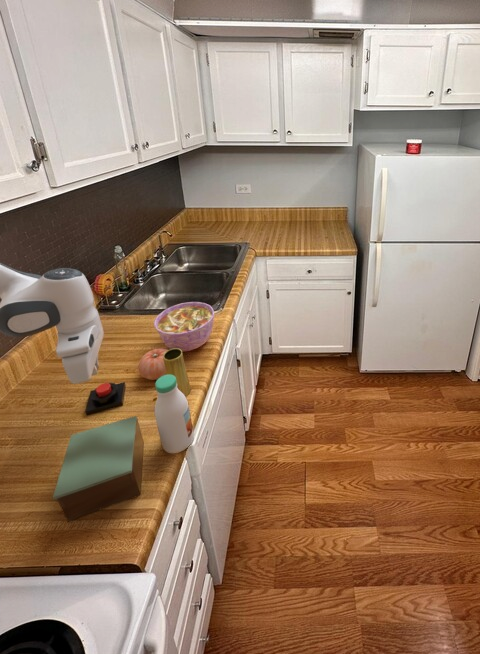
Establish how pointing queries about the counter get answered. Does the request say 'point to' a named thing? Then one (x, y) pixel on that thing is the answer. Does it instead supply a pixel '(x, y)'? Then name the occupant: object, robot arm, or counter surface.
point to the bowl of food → (185, 325)
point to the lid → (97, 456)
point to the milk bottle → (172, 415)
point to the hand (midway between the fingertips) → (94, 371)
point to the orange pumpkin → (153, 364)
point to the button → (103, 389)
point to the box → (107, 488)
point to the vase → (177, 369)
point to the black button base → (106, 399)
